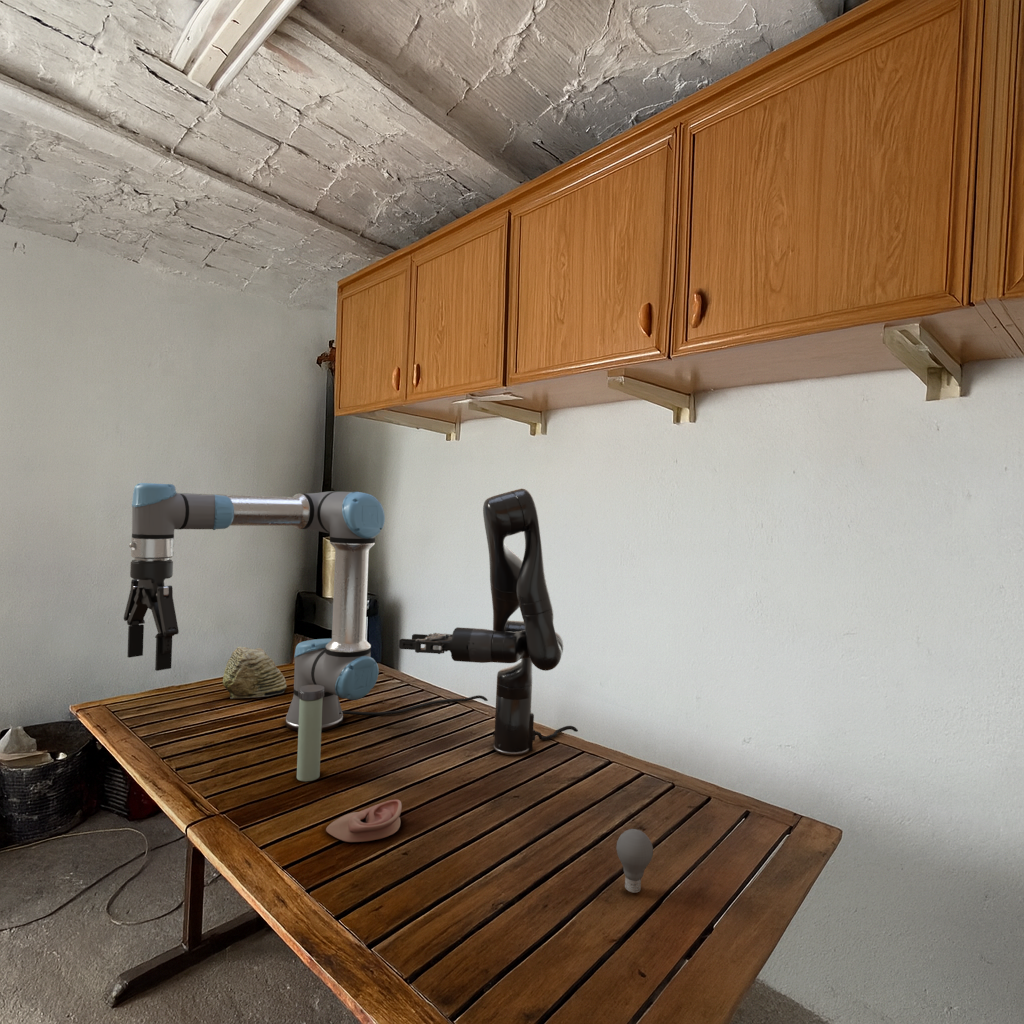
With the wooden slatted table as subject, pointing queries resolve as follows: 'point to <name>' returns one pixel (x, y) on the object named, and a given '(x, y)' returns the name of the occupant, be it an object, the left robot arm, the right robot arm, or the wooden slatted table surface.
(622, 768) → the wooden slatted table surface
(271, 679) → the fossil
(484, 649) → the right robot arm
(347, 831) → the anatomical model
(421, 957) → the wooden slatted table surface
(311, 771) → the pale green cylinder
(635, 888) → the light bulb
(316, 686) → the lid
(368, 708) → the wooden slatted table surface
